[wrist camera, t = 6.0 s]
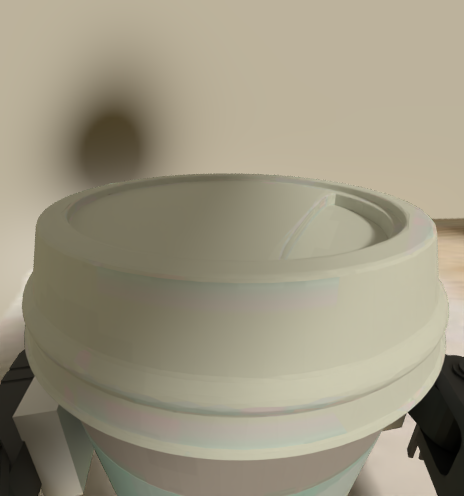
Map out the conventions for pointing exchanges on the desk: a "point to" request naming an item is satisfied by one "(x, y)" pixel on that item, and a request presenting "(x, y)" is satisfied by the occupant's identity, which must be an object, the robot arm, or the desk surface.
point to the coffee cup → (234, 328)
